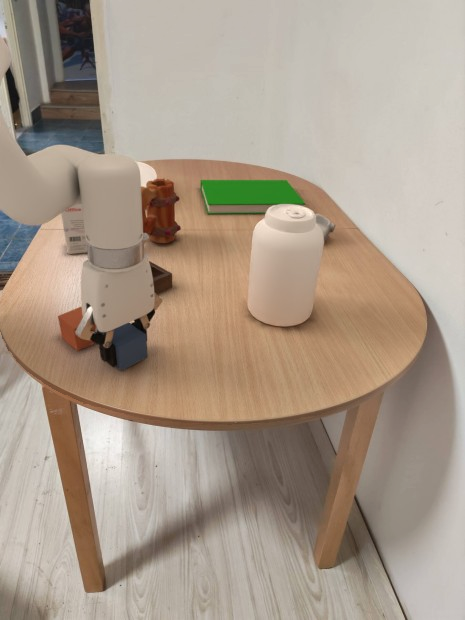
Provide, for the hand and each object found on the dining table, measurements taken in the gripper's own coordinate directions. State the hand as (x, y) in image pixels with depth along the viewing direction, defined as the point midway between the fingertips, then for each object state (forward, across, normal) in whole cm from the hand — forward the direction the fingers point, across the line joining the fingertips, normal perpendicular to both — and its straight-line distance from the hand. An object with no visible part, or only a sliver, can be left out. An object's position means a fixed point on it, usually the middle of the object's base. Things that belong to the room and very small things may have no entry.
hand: (124, 353), depth 72 cm
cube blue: (+1, 0, 0) cm, 1 cm away
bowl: (+2, -48, -64) cm, 79 cm away
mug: (+2, -31, -32) cm, 44 cm away
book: (+2, -72, -38) cm, 81 cm away
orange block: (+2, +2, -10) cm, 10 cm away
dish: (+1, -61, -11) cm, 62 cm away
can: (+1, -30, +7) cm, 31 cm away
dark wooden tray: (+2, -16, -21) cm, 26 cm away
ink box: (+2, -17, -40) cm, 43 cm away
